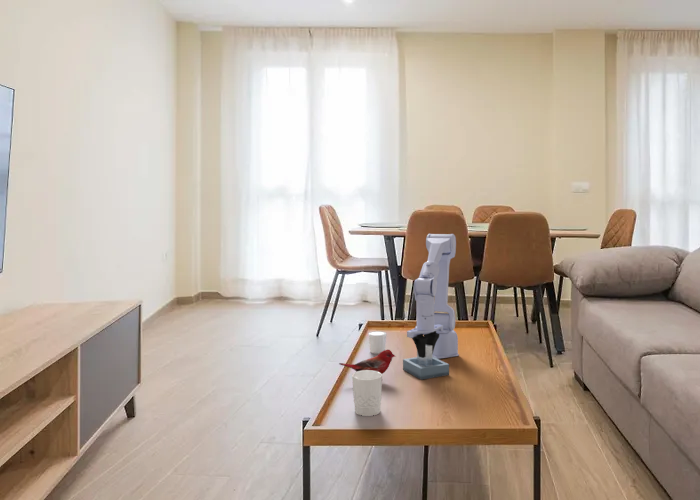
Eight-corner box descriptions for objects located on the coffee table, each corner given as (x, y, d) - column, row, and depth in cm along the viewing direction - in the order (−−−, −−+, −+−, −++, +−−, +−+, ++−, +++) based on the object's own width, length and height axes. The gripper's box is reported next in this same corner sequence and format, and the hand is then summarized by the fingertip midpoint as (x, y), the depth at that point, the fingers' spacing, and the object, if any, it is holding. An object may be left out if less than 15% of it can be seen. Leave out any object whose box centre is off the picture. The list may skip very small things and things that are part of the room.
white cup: (351, 406, 140) (350, 370, 139) (380, 405, 140) (379, 369, 140) (354, 418, 132) (353, 380, 131) (384, 416, 133) (384, 379, 132)
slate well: (429, 365, 175) (429, 355, 175) (449, 374, 165) (449, 364, 164) (403, 369, 171) (402, 359, 171) (421, 379, 160) (421, 368, 160)
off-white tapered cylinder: (385, 354, 189) (385, 335, 188) (367, 353, 190) (366, 335, 190) (387, 349, 196) (387, 331, 195) (370, 348, 197) (369, 330, 197)
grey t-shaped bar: (423, 365, 172) (423, 341, 171) (436, 369, 167) (436, 345, 166) (412, 368, 169) (412, 344, 168) (425, 372, 164) (425, 348, 163)
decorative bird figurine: (396, 382, 159) (396, 350, 158) (339, 384, 157) (338, 352, 157) (395, 379, 161) (394, 348, 161) (338, 381, 160) (338, 350, 159)
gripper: (432, 310, 174) (432, 349, 175) (400, 315, 165) (400, 357, 166) (447, 313, 168) (447, 353, 169) (415, 319, 159) (415, 362, 161)
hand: (425, 355), depth 167 cm, fingers closed on grey t-shaped bar, 3 cm apart
